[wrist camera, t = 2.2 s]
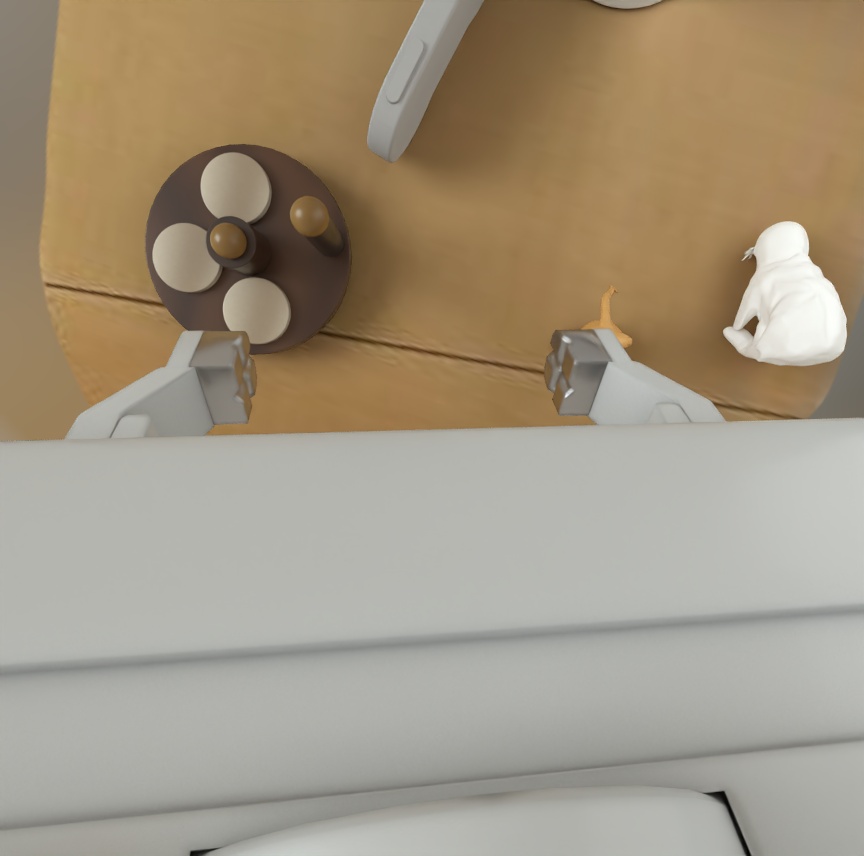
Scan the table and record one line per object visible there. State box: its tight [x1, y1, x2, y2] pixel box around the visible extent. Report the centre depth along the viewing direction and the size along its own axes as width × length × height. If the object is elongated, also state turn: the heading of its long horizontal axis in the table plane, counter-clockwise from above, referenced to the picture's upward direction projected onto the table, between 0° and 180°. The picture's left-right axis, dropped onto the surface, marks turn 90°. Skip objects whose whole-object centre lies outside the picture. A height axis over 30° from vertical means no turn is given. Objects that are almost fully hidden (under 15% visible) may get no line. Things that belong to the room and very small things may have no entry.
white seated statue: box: [723, 221, 847, 366], centre depth 42 cm, size 6×8×12 cm
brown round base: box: [145, 144, 352, 355], centre depth 36 cm, size 16×16×11 cm
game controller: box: [367, 0, 484, 163], centre depth 37 cm, size 20×2×8 cm, turn 151°
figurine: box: [582, 286, 632, 349], centre depth 40 cm, size 8×6×12 cm
